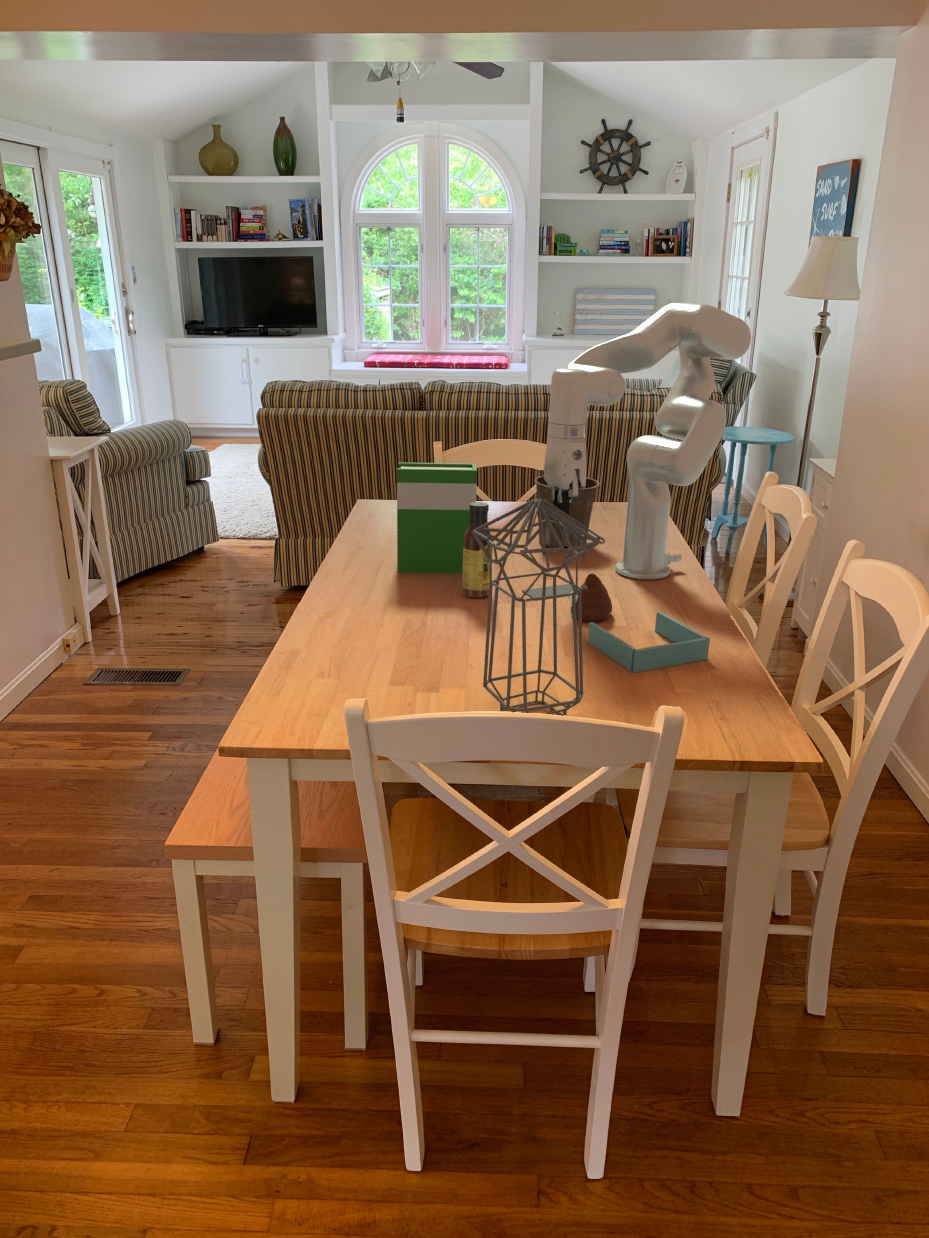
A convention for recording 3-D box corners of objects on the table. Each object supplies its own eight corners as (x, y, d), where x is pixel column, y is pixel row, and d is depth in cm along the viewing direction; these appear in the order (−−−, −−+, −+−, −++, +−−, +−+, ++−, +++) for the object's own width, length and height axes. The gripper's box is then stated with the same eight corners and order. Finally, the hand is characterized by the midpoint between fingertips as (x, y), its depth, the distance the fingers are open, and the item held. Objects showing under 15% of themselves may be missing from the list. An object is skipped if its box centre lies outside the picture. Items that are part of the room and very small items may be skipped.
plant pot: (605, 541, 243) (610, 479, 237) (578, 555, 230) (582, 491, 224) (549, 530, 251) (553, 471, 245) (520, 544, 238) (523, 482, 232)
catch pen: (658, 630, 184) (660, 611, 182) (707, 659, 171) (710, 638, 169) (587, 642, 177) (589, 622, 176) (633, 672, 164) (635, 651, 163)
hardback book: (397, 572, 214) (396, 469, 206) (398, 563, 221) (398, 462, 213) (474, 573, 215) (476, 470, 206) (473, 564, 222) (475, 463, 213)
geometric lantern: (510, 747, 138) (513, 516, 126) (467, 705, 152) (467, 493, 140) (601, 728, 144) (613, 505, 132) (552, 689, 158) (559, 484, 146)
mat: (569, 585, 209) (569, 583, 209) (583, 593, 204) (583, 592, 203) (521, 591, 204) (521, 590, 204) (535, 600, 199) (535, 598, 199)
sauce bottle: (488, 600, 198) (491, 509, 191) (459, 597, 199) (461, 506, 192) (493, 590, 204) (496, 501, 197) (465, 588, 205) (467, 499, 198)
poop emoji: (605, 626, 185) (609, 582, 182) (563, 620, 188) (566, 576, 185) (615, 610, 194) (619, 567, 191) (575, 605, 197) (578, 562, 194)
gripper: (602, 437, 185) (594, 527, 191) (563, 425, 197) (557, 510, 204) (569, 438, 182) (562, 530, 188) (532, 426, 194) (527, 512, 201)
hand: (560, 519), depth 196 cm, fingers closed
